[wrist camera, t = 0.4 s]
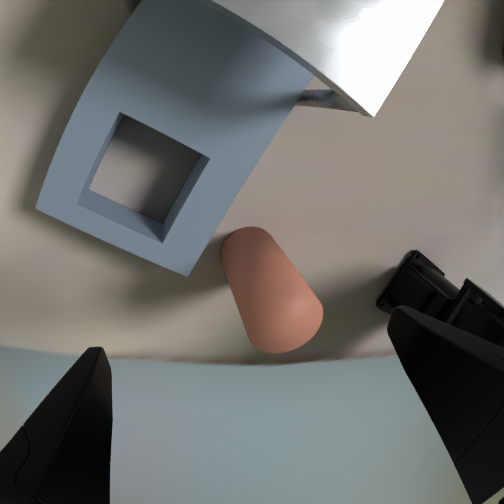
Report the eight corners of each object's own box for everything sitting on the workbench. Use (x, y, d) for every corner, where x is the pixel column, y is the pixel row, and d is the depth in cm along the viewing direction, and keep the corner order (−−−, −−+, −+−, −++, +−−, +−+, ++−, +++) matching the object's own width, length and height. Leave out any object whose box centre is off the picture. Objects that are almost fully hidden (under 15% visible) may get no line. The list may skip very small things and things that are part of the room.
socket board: (327, 30, 17) (351, 23, 14) (184, 254, 21) (187, 277, 19) (199, -49, 12) (205, -70, 10) (51, 193, 17) (35, 208, 15)
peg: (286, 241, 23) (337, 305, 16) (256, 285, 24) (293, 359, 17) (239, 217, 21) (277, 279, 14) (209, 265, 22) (232, 342, 15)
